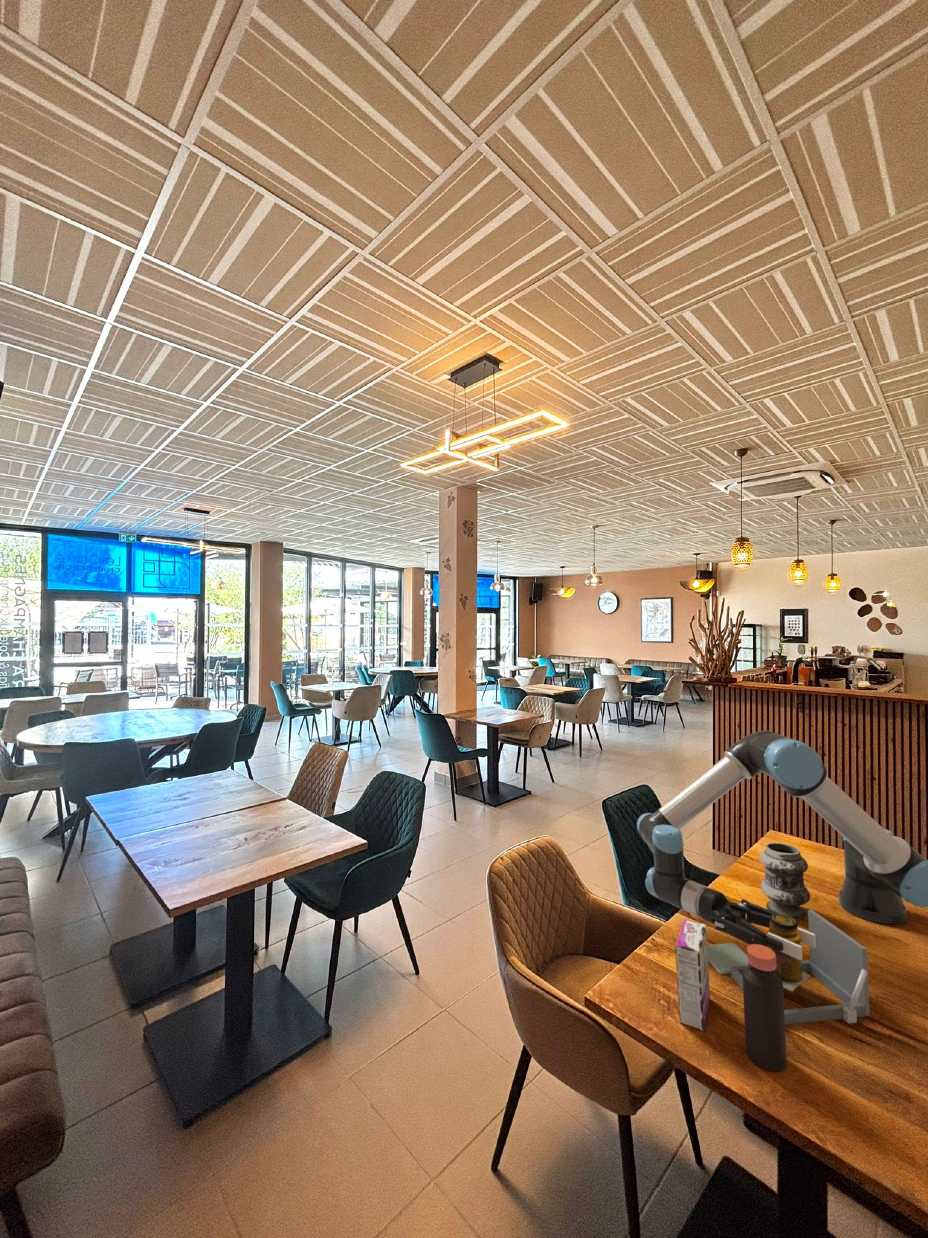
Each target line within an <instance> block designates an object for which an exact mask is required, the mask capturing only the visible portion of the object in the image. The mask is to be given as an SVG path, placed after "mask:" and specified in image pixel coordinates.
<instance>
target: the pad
mask: <svg viewBox="0 0 928 1238" xmlns="http://www.w3.org/2000/svg"><path fill="white" fill-rule="evenodd" d="M707 956H708V963H710V964H711V965H712V967H713V968H714V969H715V970H716V971H717V972H718V973H719V975H729V974H730V975H731V967H737V966H748V965H749V964H748V961H747V953H745V952H744V951H743V950H742V949H741V948H740V947H739V946H738V945H737V943H735V942H729V943H727V942H725V943H718V944H716V943H715V944H707Z"/></svg>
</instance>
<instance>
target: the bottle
mask: <svg viewBox="0 0 928 1238" xmlns="http://www.w3.org/2000/svg"><path fill="white" fill-rule="evenodd" d="M746 955H747V961H748V964H749V966H748V967H746V968H745V969H744V971H743V973H742V975H743V989H742V994H743V995H742V997H743V1012H744V1013H743V1015H744V1016H743V1019H744V1034H745V1035H744V1039H745V1052H746V1054H747V1057H748V1058H749V1059H750V1060H751V1061H752V1063H754V1064H756V1066H758V1067H760V1068H762V1069H763V1070H766V1071H769V1072H779V1071H783V1070H784V1069H785V1068H786V1067H787V1063H788V1061H787V1060H788V1059H787V1058H788V1057H787V1038H786V1034H787V1033H786V1025H785V1013H784V1010H785V998H784V997H785V996H784V987H783V983H782V980H781V979H780V977H779V976H778V975H777V974H776V973H775V972H776V967H777V965H776V954H775V953H774V951H772V950H771V949H770V948H769V946H767V947H766V946H763V945H759V944H751V945H750V944H748V945H747V946H746Z"/></svg>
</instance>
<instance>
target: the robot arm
mask: <svg viewBox="0 0 928 1238" xmlns="http://www.w3.org/2000/svg"><path fill="white" fill-rule="evenodd" d="M828 772H829V771H828V768H827V767H826V765H824V764H823V761H822V759H821V757H820V755H819V754H818V752H817V751H816V750H814V749H813V748H812V747H811V746H809V745H808V744H806V743H805V742H803V741H801V740H798V739H795V738H794V739H793V738H789V737H787V736H784V735H781V734H779V733H777V732H774V731H770V730H760V731H755V732H752V733H749V734H747V735H746V736H744V737H743V738H741V739H740V740H738V741H737V742H735V743H734V744H732V745H731V746H729V748H727V749H726V750H725V751H724V752H723V757H722V758H721V759H720V760H718V761H717V762H715V764H713V765H712V766H711V767H710V768H709V769H707V770H706V771H704V772H703V773H702V774H701V775H700V776H698V778H696V779H695V780H693V781H692V782H691V783H689V784H688V785H687V786H686V787H685V788H684V789H682V790H681V791H680V792H678V793H677V794H676V795H675V796H674V797H673V798H671V799H669V800H668V801H667V802H666V803H665V804H663V805H662V806H661V807H659V808H658V809H657V810H656V811H655V812H653V813H651V812H646V813H643V814H641V815H640V816H639V817H638V819H637V822H636V827H637V831H638V833H639V836H640V838H641V839H642V840H643V841H644V842H645V844H647V846H648V848H649V849H650V851H651V853H652V854H653V863H654V864H653V865H654V866H653V867H650V869H648V871H647V872H646V878H645V888H646V890H647V892H648V893H649V894H650V895H651V896H653V897H655V898H656V899H659V900H660V901H662V902H665V903H667V904H670V905H672V906H674V907H677V908H679V909H681V910H683V911H685V912H687V913H689V914H691V915H693V916H694V917H698V918H701V919H703V921H706V922H708V923H710V924H713V925H714V927H715V929H716V930H717V931H720V932H724V933H726V934H729V935H730V936H732V937H733V938H736V939H738V940H739V941H742V942H744V943H745V944H748V945H751V944H759V945H763V946H766V947H768V948H769V947H772V948H774V949H776V950H778V951H781V952H783V953H785V954H787V955H790V956H792V957H794V958H796V959H798V960H802V961H803V947H802V945H801V946H800V945H798V944H795V943H793V942H791V941H788V940H786V939H784V938H781V937H779V936H777V935H775V934H772V933H770V932H769V933H768V932H767V933H766V932H764V931H762V930H761V929H760V928H758V927H757V926H760V927H763V928H764V927H765V928H767V929H769V927H770V916H771V915H772V914H779V913H776V912H774V911H771V910H768V909H767V908H765V907H762V906H760V905H757V904H754V903H752V902H750V901H748V900H747V899H743V898H742V899H741V900H740V902H741V903H737V902H734V901H729V900H728V899H727V897H726V895H725V894H724V893H722V892H721V891H719V890H717V889H716V890H715V889H714V888H710V887H708V886H706V885H703V884H701V883H698V882H696V881H693V880H690V879H689V878H686V876H685V862H684V861H685V860H684V859H685V858H684V857H685V855H684V853H685V852H684V845H685V844H684V840H683V833H682V831H681V829H683V828H684V827H685V826H686V825H687V824H689V823H690V822H691V821H693V820H694V819H696V817H698V816H699V815H700V814H701V813H703V812H704V811H705V810H706V809H708V808H709V807H710V806H712V805H713V804H714V803H715V802H717V801H718V800H719V799H720V798H722V797H723V796H724V795H726V794H727V793H728V792H729V791H731V790H732V789H733V788H734V787H736V786H737V785H739V784H740V783H741V782H742V781H743V780H744V779H746V780H747V779H748V780H751V779H752V778H754V777H755V776H756V775H758V774H762V773H763V774H765V775H766V776H769V777H770V778H771V779H772V780H774V782H775V783H776V784H778V785H779V786H780V787H781V788H782V789H783V790H784V791H785V792H786V793H787V794H788V795H790V796H791V797H794V798H801V799H802V800H803V801H804V802H805V803H807V804H808V805H809V806H810V807H811V808H812V810H813V811H815V812H816V813H817V814H818V815H820V817H821V818H822V819H824V820H825V821H826V822H827V823H828V824H829V825H830V826H831V827H832V829H834V830H836V832H838V834H839V835H840V836H842V841H843V852H844V854H843V855H844V857H843V858H844V870H845V871H844V872H845V874H844V875H845V876H844V880H843V882H842V883H843V884H842V886H841V887H842V888H841V890H840V891H839V895H838V898H839V899H838V901H839V904H840V906H841V907H842V909H844V910H845V911H847V912H848V913H850V914H852V915H853V916H856V917H858V918H860V919H863V920H866V921H870V922H873V923H879V924H883V925H885V924H886V925H901V924H904V923H905V922H907V920H908V912H907V907H906V906H905V904H904V901H906V902H907V903H910V904H912V905H913V906H916V907H919V908H928V859H927V858H925V857H924V856H923V855H921V853H919V852H918V851H917V850H916V849H915V848H914V847H912V845H910V843H908V841H906V840H905V839H903V838H901V837H900V836H895V834H894V832H893V831H891V830H889V829H885V828H883V827H882V826H881V825H880V824H879V823H878V822H877V821H876V820H875V819H873V818H872V817H871V815H869V814H868V813H867V812H866V811H865V810H864V809H863V808H862V807H860V805H858V804H857V802H855V801H854V800H853V799H852V798H851V797H850V796H849V795H848V794H847V793H846V792H844V791H843V790H842V789H841V788H840V787H839V786H838V784H836V783H835V782H834V781H833V780H832V779H831V778H830V777H828V774H829V773H828ZM903 900H904V901H903ZM755 925H757V926H755ZM797 928H798V933H799V935H800V943H802V944H803V945H807V946H808V947H810V946H811V947H813V948H815V947H816V940H815V934H813V933H811V932H809V930H805V929H803V928H801V927H797Z"/></svg>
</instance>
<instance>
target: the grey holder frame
mask: <svg viewBox="0 0 928 1238" xmlns="http://www.w3.org/2000/svg"><path fill="white" fill-rule="evenodd" d="M807 917H808V921H807V923H808V932H811V933H813V934H815V940H816V947H815V948H813V947H811V946H809V957H810V959H804V960H803V959H802V971H803V972H805V973H807V974H810V975H812V976H813V977H814V978H816V979H817V980H818V981H819V982H820V983H821V984H822V985H824V987H826V988H827V989H828V990H829V991H830V992H831V993H833V994H834V995H835V996H836V997H837V998H838V999H839V1000H841V1001H842V1003H843V1004H831V1005H821V1006H811V1007H810V1006H809V1007H801V1008H791V1009H784V1013H785V1026H787V1025H793V1024H795V1025H796V1024H804V1023H814V1022H823V1021H835V1020H843V1021H844V1022H846V1023H847V1024H857V1023H858V1018H862V1017H870V1016H871V1011H870V1009H871V1008H870V995H869V992H870V991H869V971H868V953H867V950H868V949H867V947H865V946H864V945H862V944H861V943H859V942H858V941H856V939H854V938H852V937H851V936H850V935H848V934H847V933H845V931H843V930H841V929H840V928H838V926H836V925H834V924H833V923H831V922H830V921H828V920H827V919H826V918H825V917H823V916H821V915H820V914H819V913H817V912H816V911H814V910H813V909H807ZM748 966H749V965H748ZM748 966H737V967H731V974H730V977H731V978H732V979H733V981H734V982H735V983H736V984H737V985H738V986H739V987H740V988H741V990H743V975H742V973H743V971H744V969H745V968H746V967H748Z"/></svg>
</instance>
